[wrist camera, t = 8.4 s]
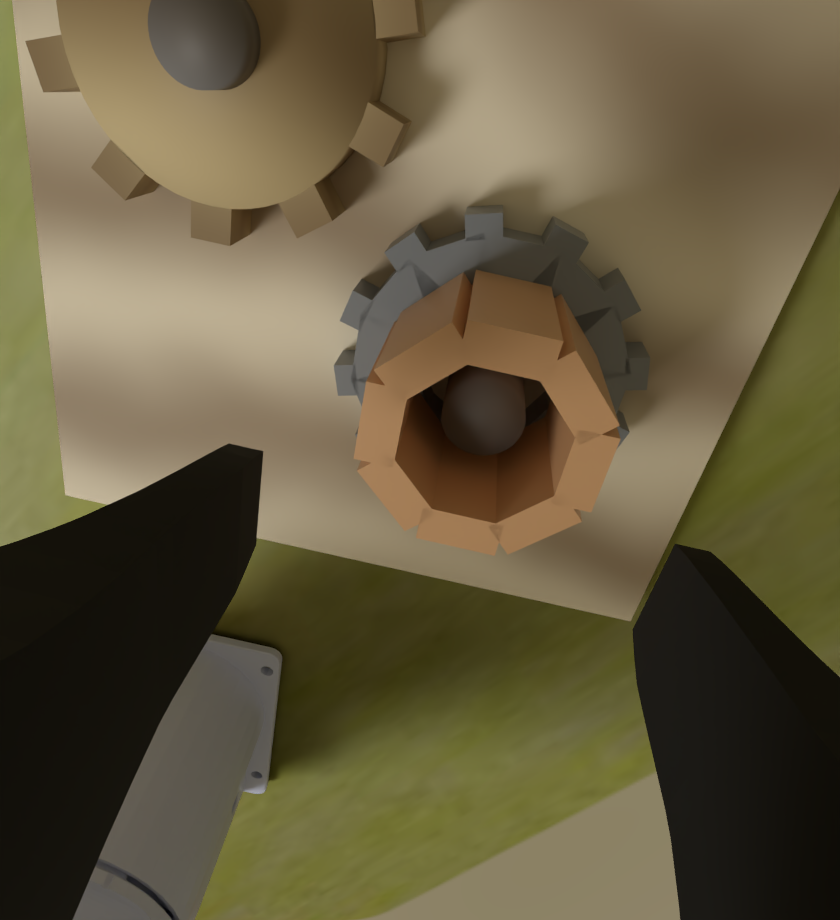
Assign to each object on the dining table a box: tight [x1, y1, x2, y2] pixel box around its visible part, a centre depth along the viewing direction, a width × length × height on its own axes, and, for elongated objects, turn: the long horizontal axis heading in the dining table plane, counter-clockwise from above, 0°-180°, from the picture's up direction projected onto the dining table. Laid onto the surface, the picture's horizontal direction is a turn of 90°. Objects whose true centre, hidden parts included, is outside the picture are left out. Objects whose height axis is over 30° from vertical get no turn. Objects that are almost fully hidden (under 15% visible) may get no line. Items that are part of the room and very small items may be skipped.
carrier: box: [12, 0, 840, 621], centre depth 17 cm, size 20×20×4 cm
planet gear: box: [334, 205, 650, 556], centre depth 16 cm, size 8×8×5 cm
